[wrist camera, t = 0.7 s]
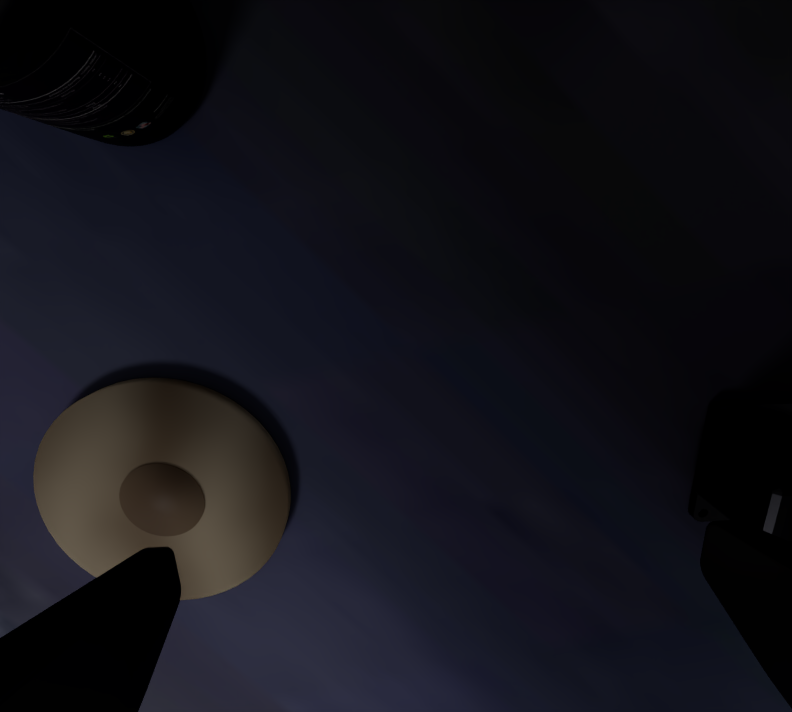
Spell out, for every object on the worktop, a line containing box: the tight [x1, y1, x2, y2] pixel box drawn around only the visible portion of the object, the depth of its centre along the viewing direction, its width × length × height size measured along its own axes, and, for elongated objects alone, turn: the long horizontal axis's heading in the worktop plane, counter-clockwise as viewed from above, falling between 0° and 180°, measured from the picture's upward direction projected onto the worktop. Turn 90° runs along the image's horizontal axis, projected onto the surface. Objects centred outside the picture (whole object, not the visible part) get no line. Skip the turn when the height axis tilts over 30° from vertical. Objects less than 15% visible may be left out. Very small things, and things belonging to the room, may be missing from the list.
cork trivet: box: [33, 377, 291, 600], centre depth 20 cm, size 12×12×1 cm
